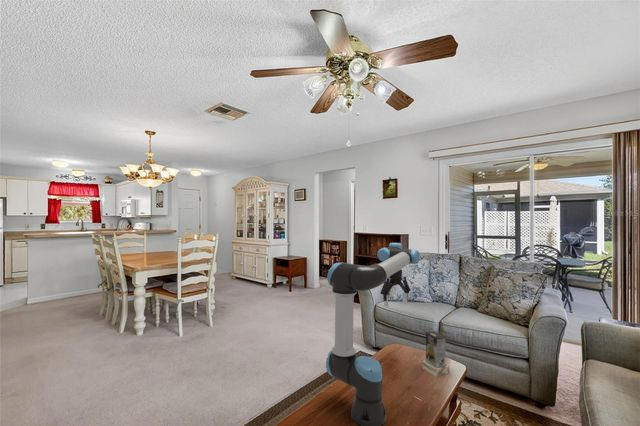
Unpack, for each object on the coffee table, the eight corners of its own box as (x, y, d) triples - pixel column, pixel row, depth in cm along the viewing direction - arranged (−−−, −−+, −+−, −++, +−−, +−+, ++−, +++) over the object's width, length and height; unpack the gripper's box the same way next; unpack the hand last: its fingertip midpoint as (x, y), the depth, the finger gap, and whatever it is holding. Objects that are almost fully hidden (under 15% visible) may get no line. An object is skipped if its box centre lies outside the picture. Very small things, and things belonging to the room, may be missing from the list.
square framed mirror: (435, 376, 158) (435, 368, 159) (422, 368, 168) (422, 360, 168) (449, 373, 162) (449, 365, 163) (435, 364, 172) (435, 357, 172)
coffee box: (425, 360, 168) (425, 331, 169) (434, 358, 170) (434, 330, 171) (436, 367, 160) (436, 338, 160) (445, 365, 162) (445, 336, 162)
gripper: (382, 271, 165) (382, 309, 164) (416, 268, 175) (416, 304, 175) (374, 269, 172) (374, 305, 171) (408, 266, 182) (408, 300, 181)
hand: (395, 305), depth 173 cm, fingers open, 13 cm apart
